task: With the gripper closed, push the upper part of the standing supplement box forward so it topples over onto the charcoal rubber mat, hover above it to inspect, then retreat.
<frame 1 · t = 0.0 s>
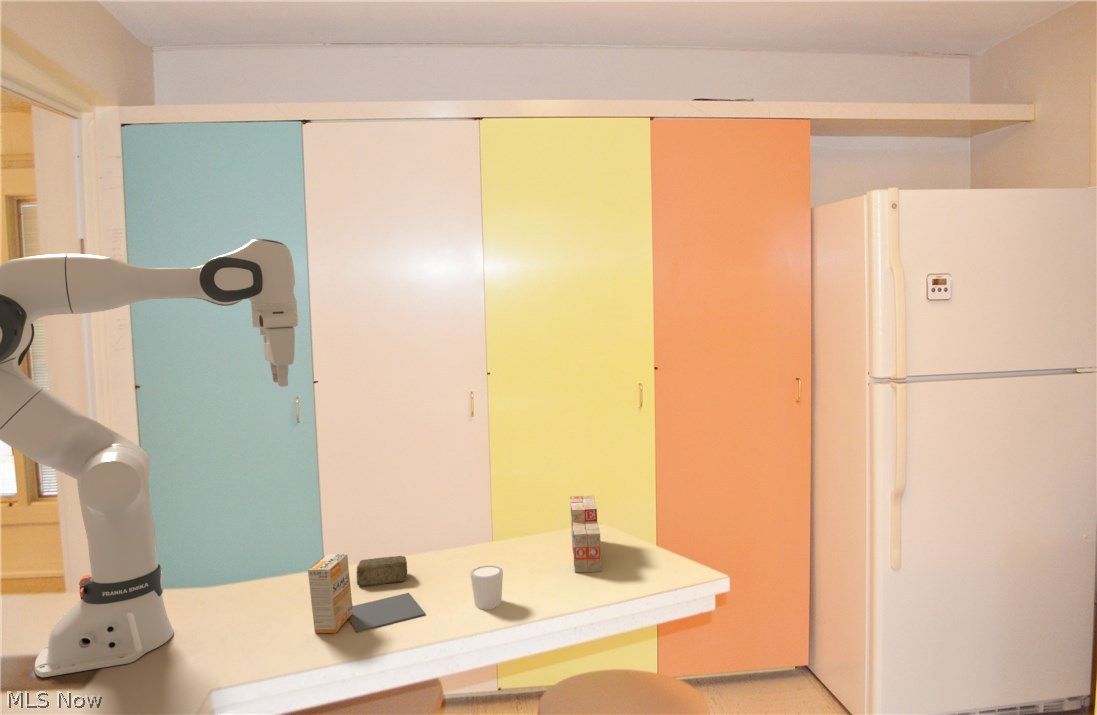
hand: (280, 384, 146), 48 cm above the kitchen counter, fingers open, 8 cm apart
mat: (384, 612, 145), on the kitchen counter
stone block: (382, 581, 162), on the kitchen counter
white cup: (488, 604, 147), on the kitchen counter
supplement box: (335, 624, 141), on the kitchen counter, touching mat
stack of blocks: (585, 556, 172), on the kitchen counter
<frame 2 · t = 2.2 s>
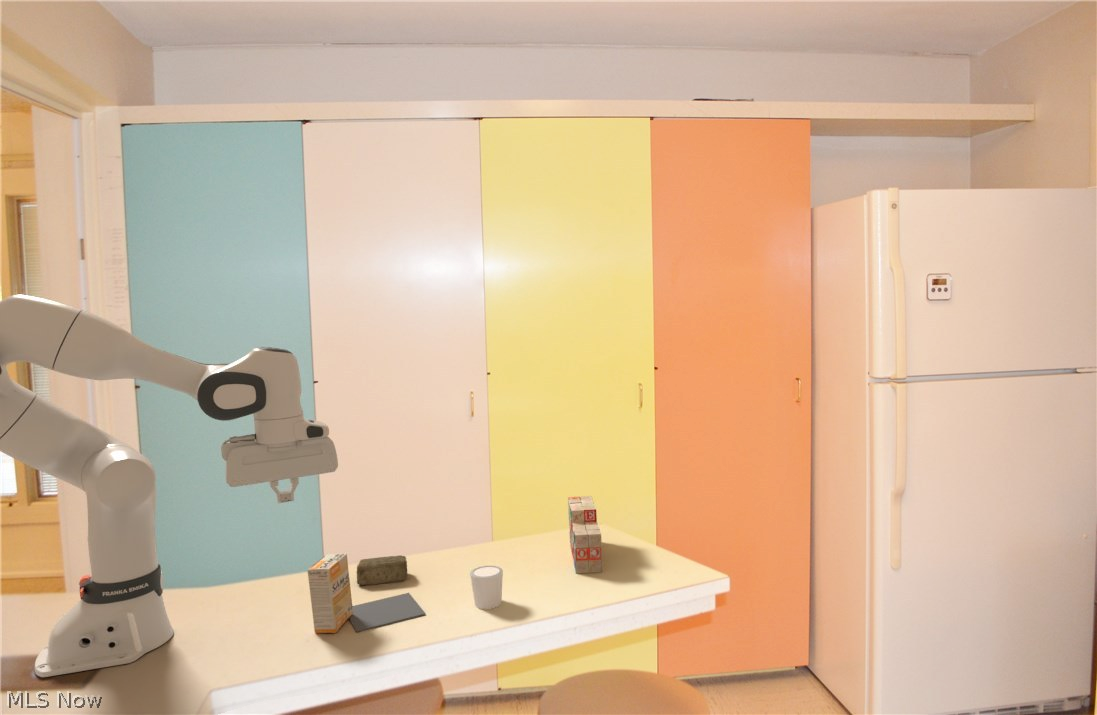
hand: (285, 501, 135), 27 cm above the kitchen counter, fingers closed
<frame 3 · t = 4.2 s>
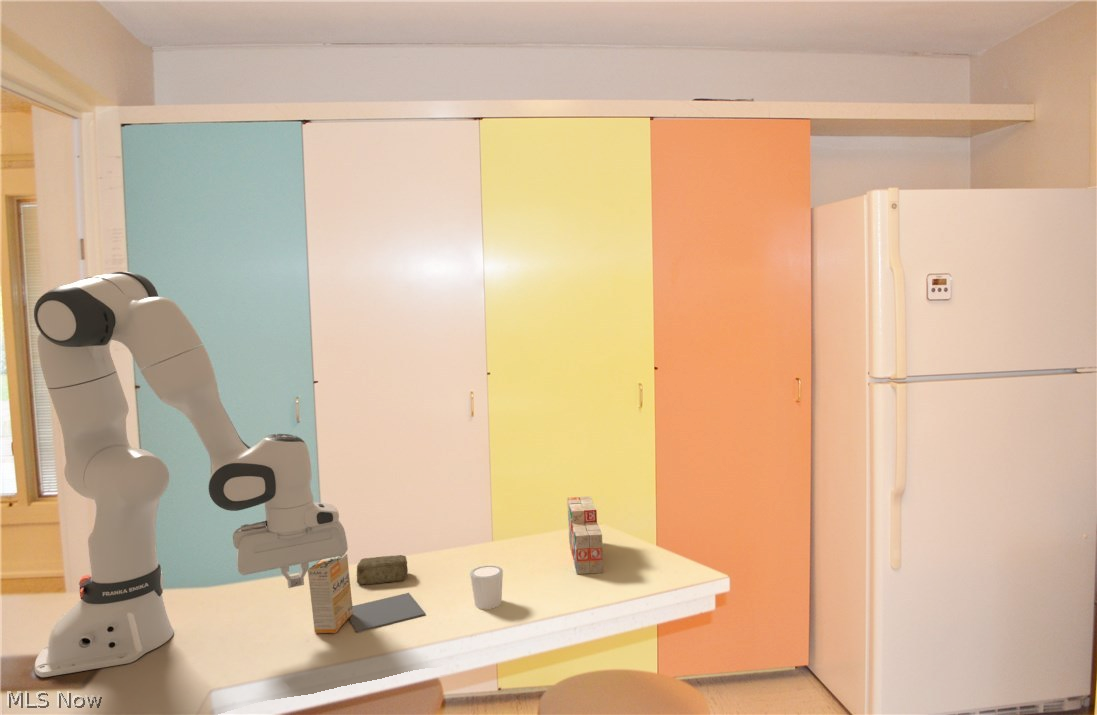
hand: (295, 585, 137), 10 cm above the kitchen counter, fingers closed
supplement box: (335, 624, 141), on the kitchen counter, touching gripper, mat
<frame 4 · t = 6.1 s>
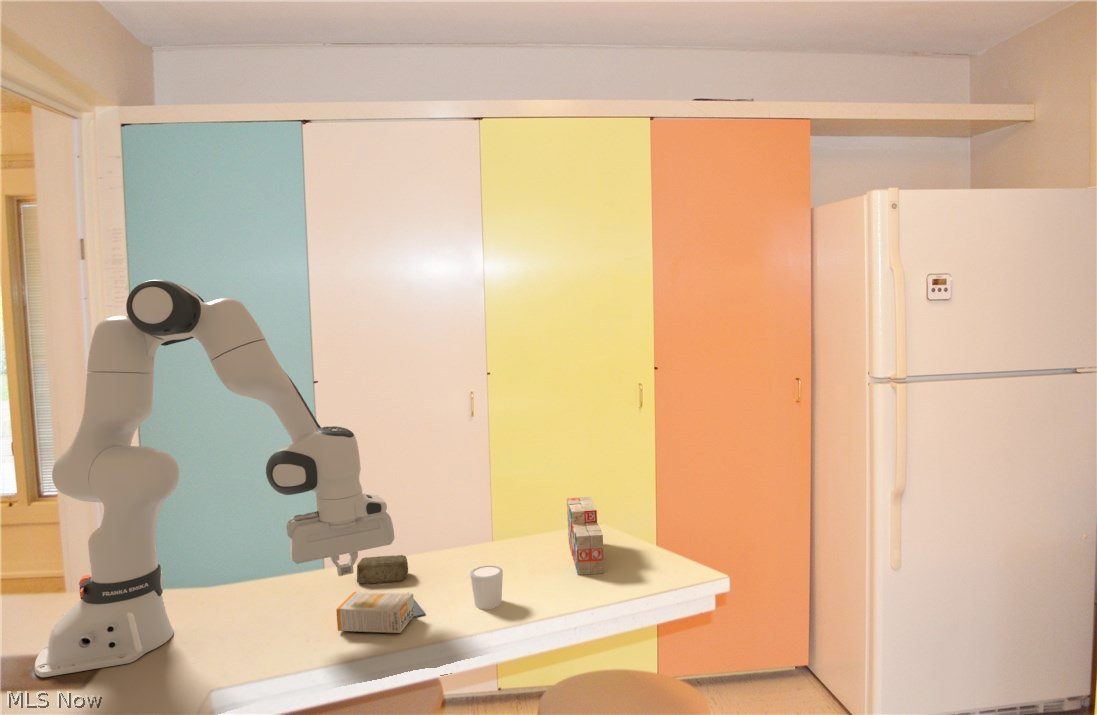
hand: (345, 574, 141), 10 cm above the kitchen counter, fingers closed
supplement box: (344, 611, 140), point 3 cm above the kitchen counter, touching mat
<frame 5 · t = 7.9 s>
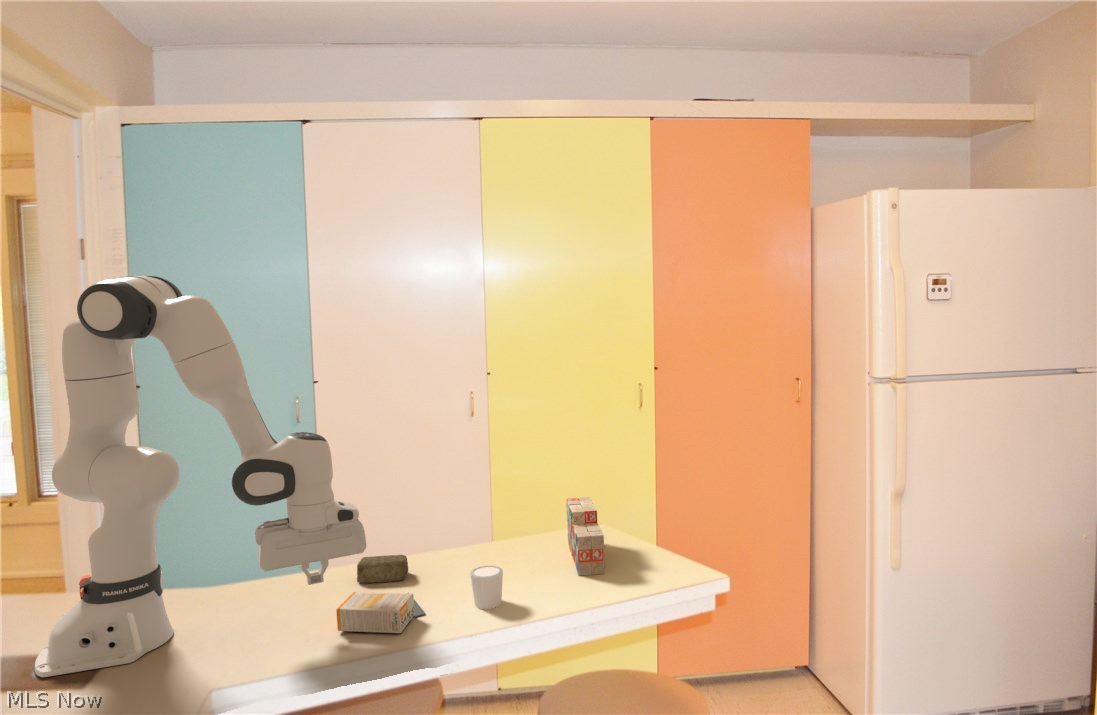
hand: (315, 582, 138), 9 cm above the kitchen counter, fingers closed
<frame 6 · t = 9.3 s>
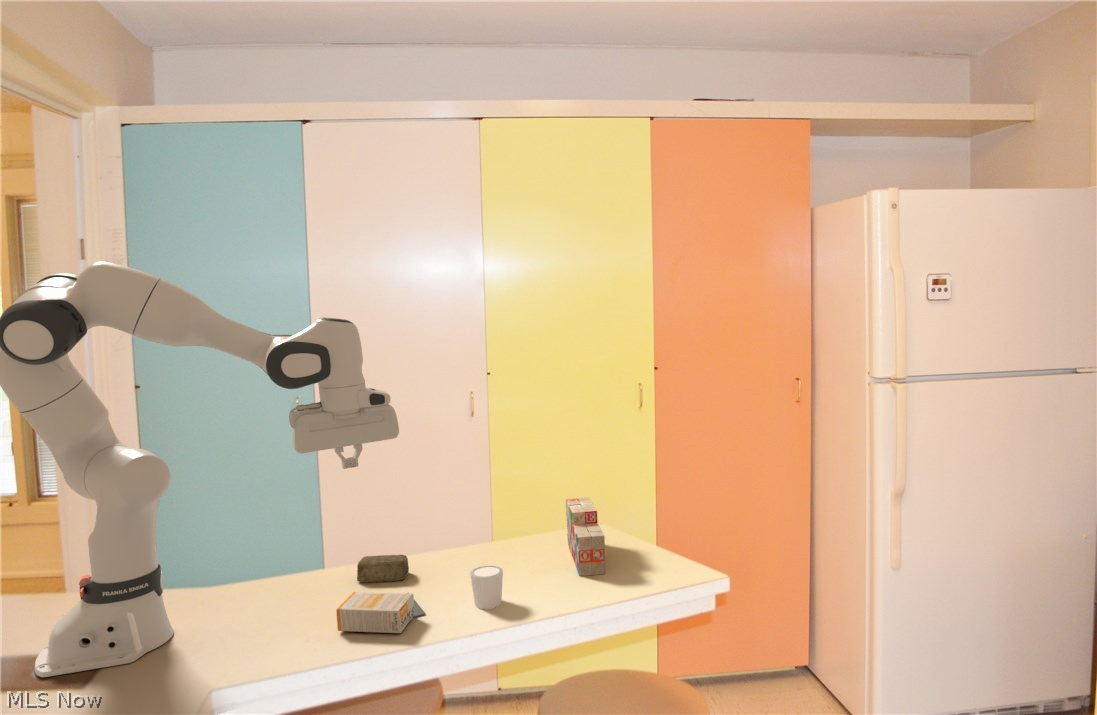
hand: (350, 467, 139), 32 cm above the kitchen counter, fingers closed
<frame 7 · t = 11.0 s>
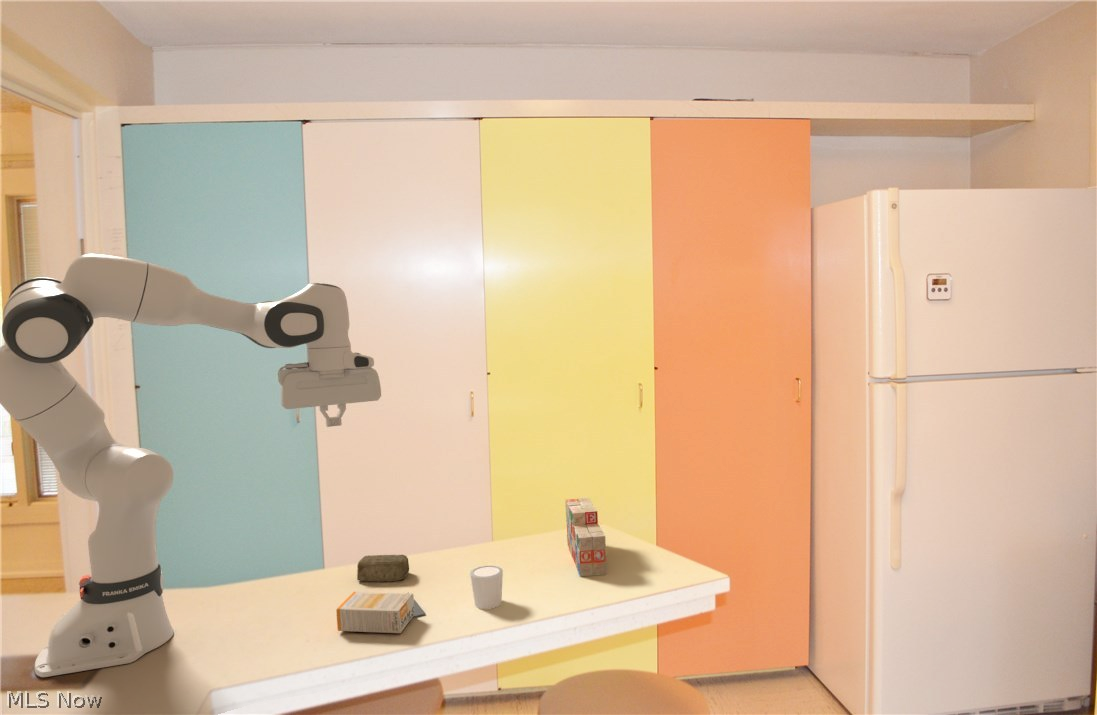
hand: (333, 425, 148), 39 cm above the kitchen counter, fingers closed
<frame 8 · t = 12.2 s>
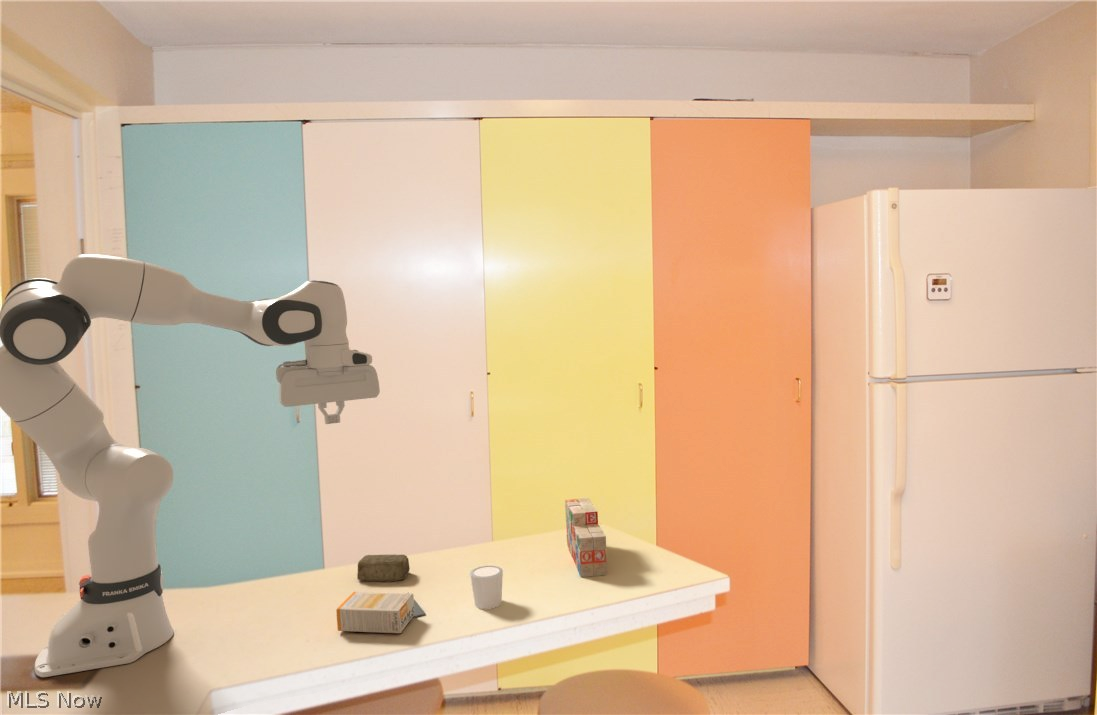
hand: (332, 423, 148), 39 cm above the kitchen counter, fingers closed
at the end: supplement box tilted 90°; supplement box inside the target area (9.2 cm from its centre), point 2.7 cm above the kitchen counter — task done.
